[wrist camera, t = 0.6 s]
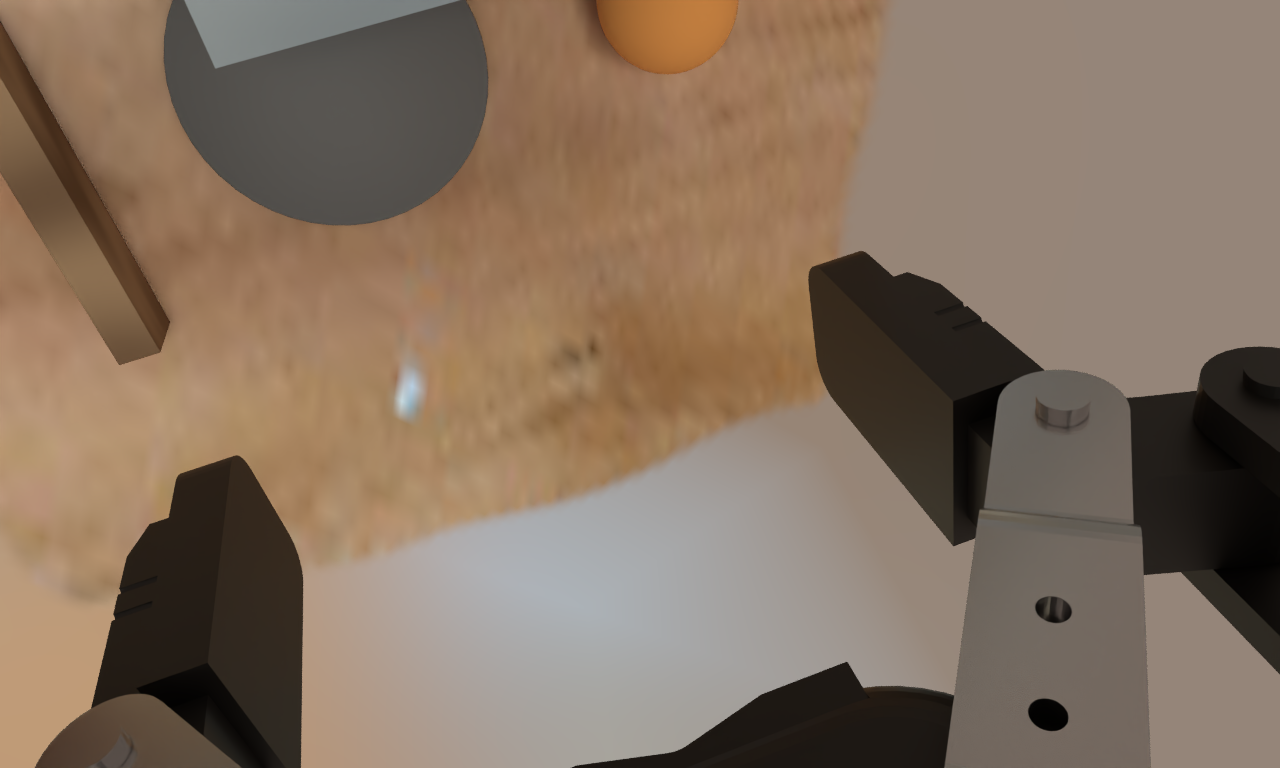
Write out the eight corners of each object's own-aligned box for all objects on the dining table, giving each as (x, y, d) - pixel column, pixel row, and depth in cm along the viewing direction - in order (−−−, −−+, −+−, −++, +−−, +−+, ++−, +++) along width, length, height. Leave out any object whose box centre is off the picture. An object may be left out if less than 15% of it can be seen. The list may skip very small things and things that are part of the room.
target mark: (101, -43, 30) (99, -42, 30) (432, -130, 32) (432, -130, 32) (248, 259, 37) (248, 261, 36) (521, 176, 38) (522, 177, 38)
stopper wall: (-98, -50, 29) (-131, -40, 27) (-47, -63, 29) (-76, -53, 27) (131, 334, 37) (119, 365, 35) (169, 322, 37) (160, 352, 35)
